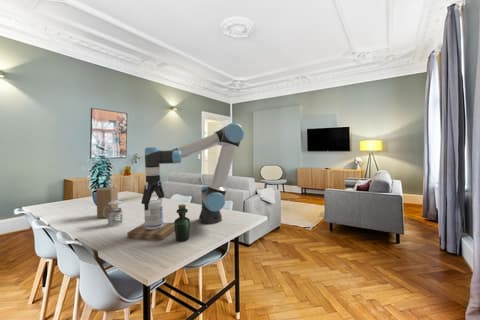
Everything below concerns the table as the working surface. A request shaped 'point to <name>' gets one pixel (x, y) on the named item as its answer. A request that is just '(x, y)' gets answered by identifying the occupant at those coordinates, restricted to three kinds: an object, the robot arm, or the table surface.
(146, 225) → the supplement tub
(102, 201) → the block
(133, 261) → the table surface
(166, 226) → the walnut base
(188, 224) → the potion bottle
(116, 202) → the french press
